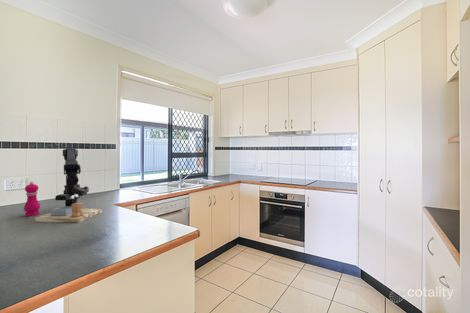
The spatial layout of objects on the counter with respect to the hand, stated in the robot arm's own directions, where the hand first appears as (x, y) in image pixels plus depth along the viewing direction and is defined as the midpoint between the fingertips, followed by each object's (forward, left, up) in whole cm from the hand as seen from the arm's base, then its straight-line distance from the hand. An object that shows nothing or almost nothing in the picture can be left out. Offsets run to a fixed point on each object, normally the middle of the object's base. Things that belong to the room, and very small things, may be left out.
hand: (72, 208), depth 138 cm
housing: (+6, 0, -1) cm, 6 cm away
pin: (+10, +10, -3) cm, 15 cm away
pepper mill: (+3, -22, -3) cm, 23 cm away
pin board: (+5, +3, -3) cm, 7 cm away
